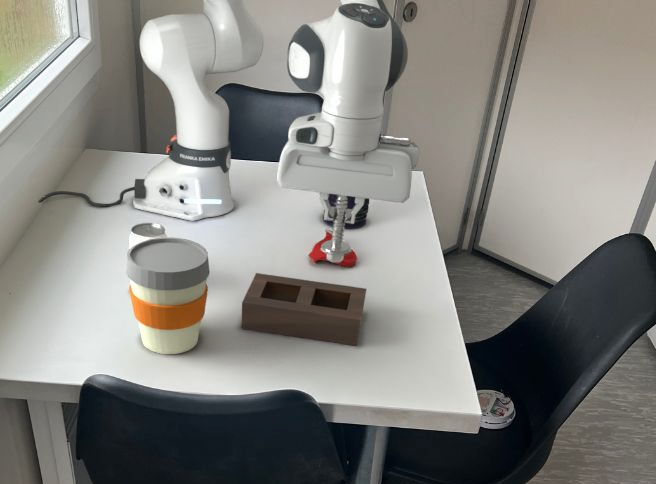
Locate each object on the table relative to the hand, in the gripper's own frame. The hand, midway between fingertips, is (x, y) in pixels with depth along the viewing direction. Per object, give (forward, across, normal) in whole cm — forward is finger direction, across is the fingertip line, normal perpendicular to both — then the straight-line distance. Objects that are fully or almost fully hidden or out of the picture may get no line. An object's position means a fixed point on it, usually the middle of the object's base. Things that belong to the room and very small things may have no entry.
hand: (339, 220), depth 114 cm
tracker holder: (+19, +2, -27) cm, 33 cm away
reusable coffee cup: (+19, +24, +12) cm, 33 cm away
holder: (+19, +4, 0) cm, 19 cm away
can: (+19, +32, -2) cm, 37 cm away
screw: (+7, 0, 0) cm, 7 cm away
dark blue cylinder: (+19, +2, -46) cm, 50 cm away
